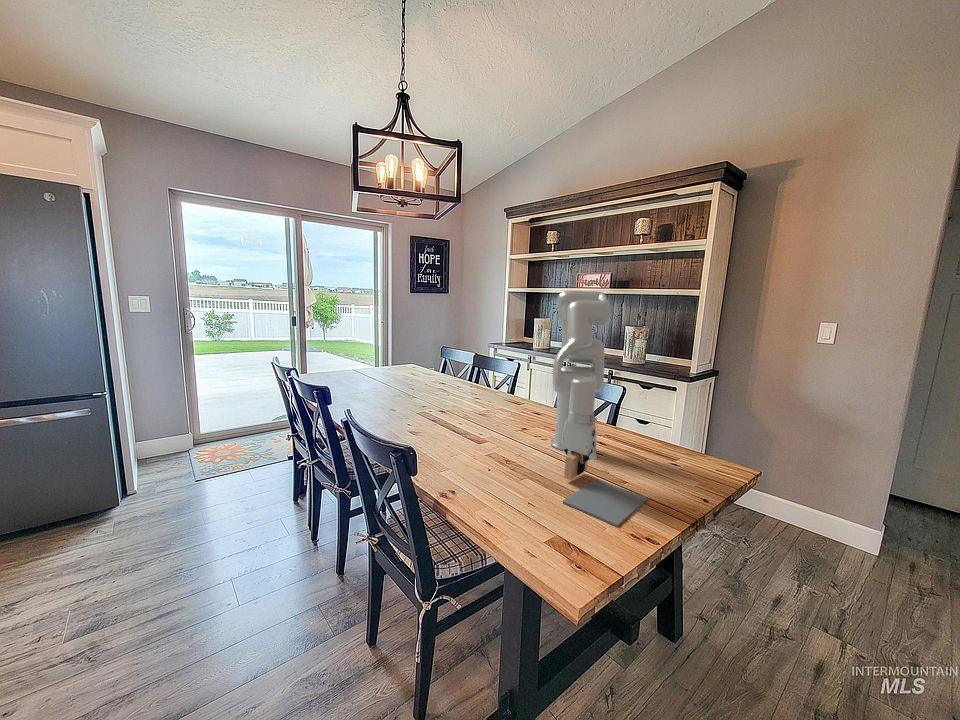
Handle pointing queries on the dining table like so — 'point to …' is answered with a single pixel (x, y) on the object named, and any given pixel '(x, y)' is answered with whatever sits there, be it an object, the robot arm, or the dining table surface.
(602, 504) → the rubber mat
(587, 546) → the dining table surface
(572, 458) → the terracotta tile
